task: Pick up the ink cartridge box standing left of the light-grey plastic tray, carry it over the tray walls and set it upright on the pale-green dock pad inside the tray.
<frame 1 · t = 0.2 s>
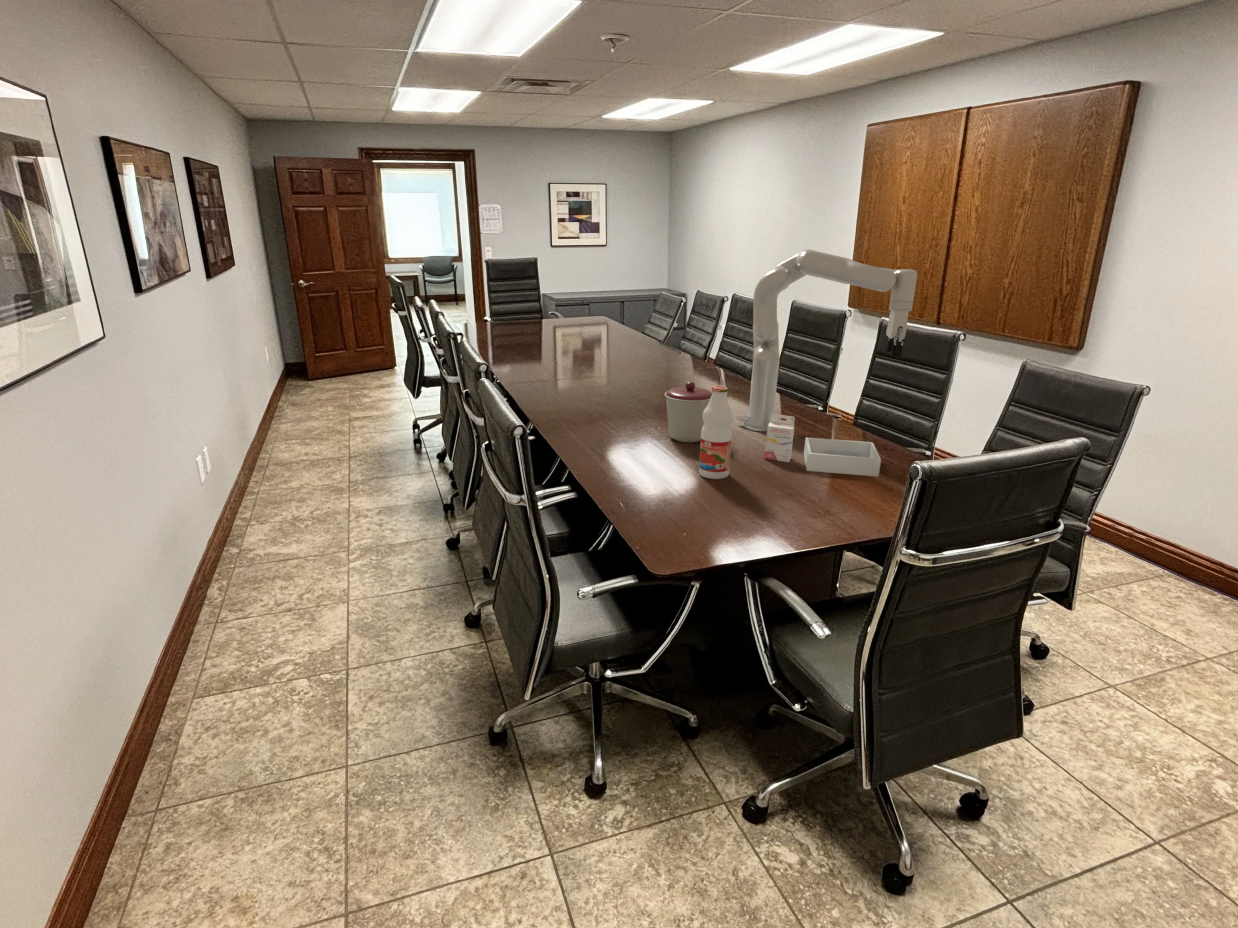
hand: (893, 354, 249), 31 cm above the table, tool pointing down, fingers open, 9 cm apart
fruit juice: (713, 475, 217), on the table
canister: (687, 439, 252), on the table
ink cartridge box: (777, 459, 233), on the table
tray: (839, 464, 228), on the table
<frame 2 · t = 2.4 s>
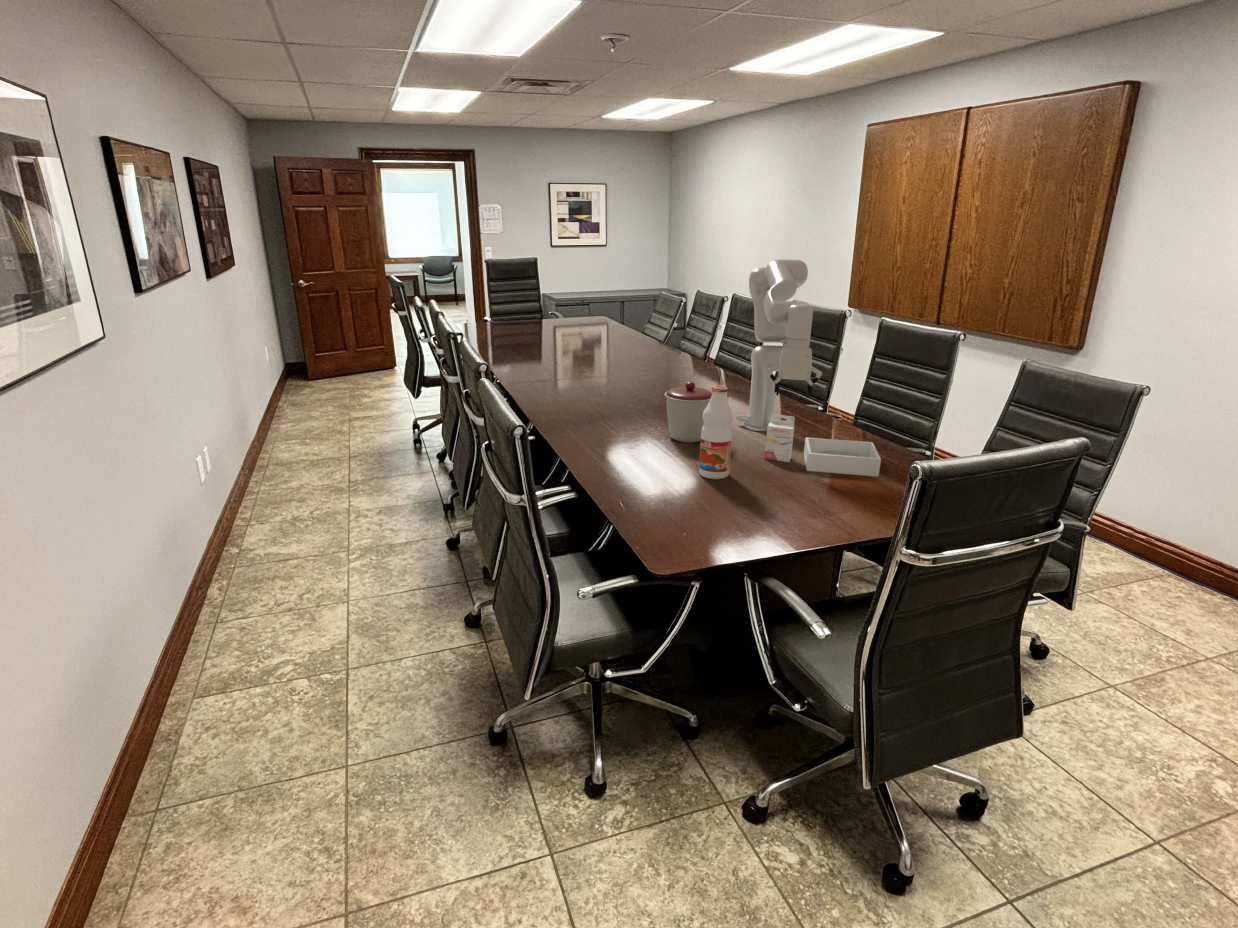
hand: (792, 395, 227), 21 cm above the table, tool pointing down, fingers open, 9 cm apart
nothing on the table moved.
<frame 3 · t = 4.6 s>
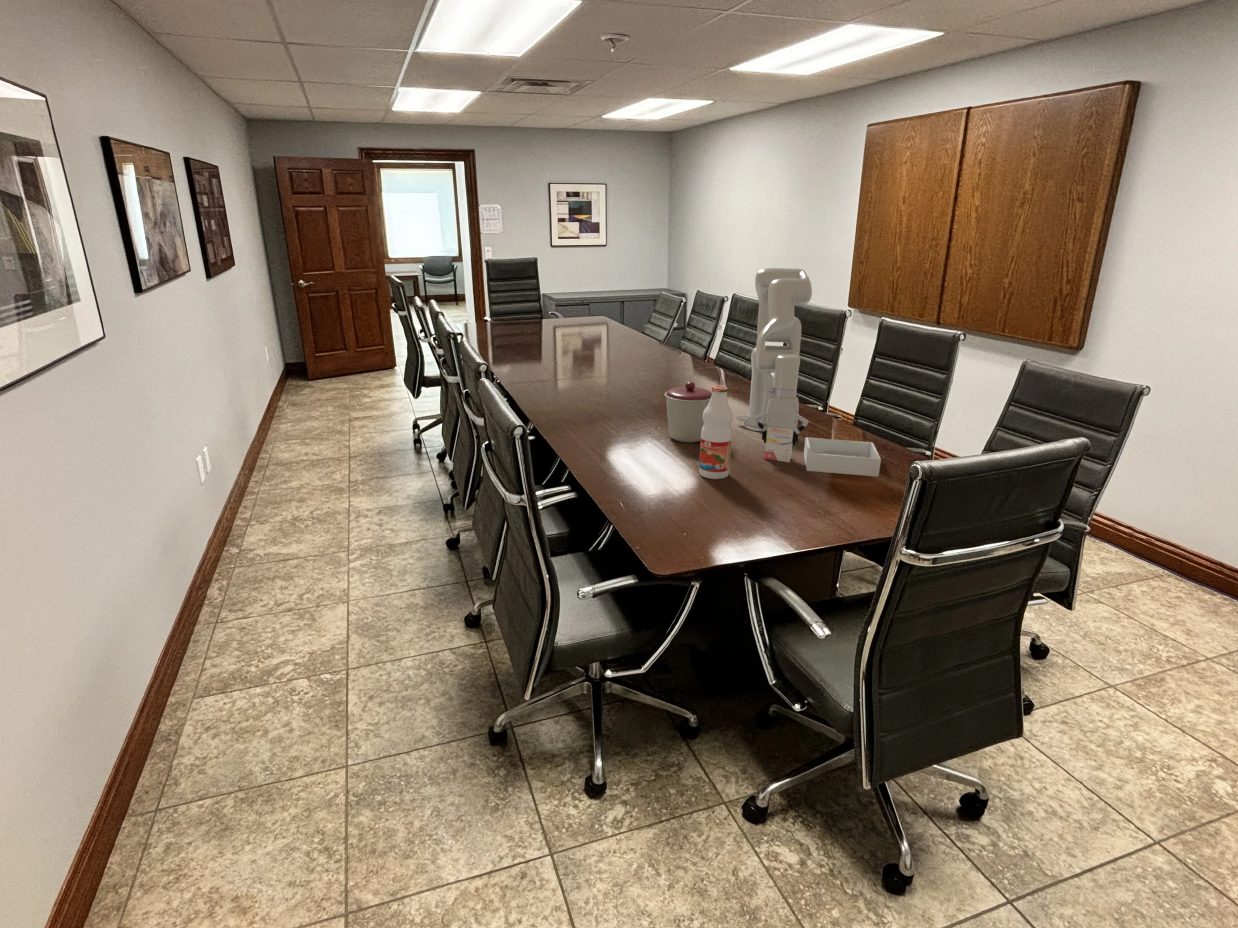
hand: (779, 443, 231), 6 cm above the table, tool pointing down, fingers closed on ink cartridge box, 9 cm apart
ink cartridge box: (777, 459, 233), on the table, touching gripper
everything else where it was.
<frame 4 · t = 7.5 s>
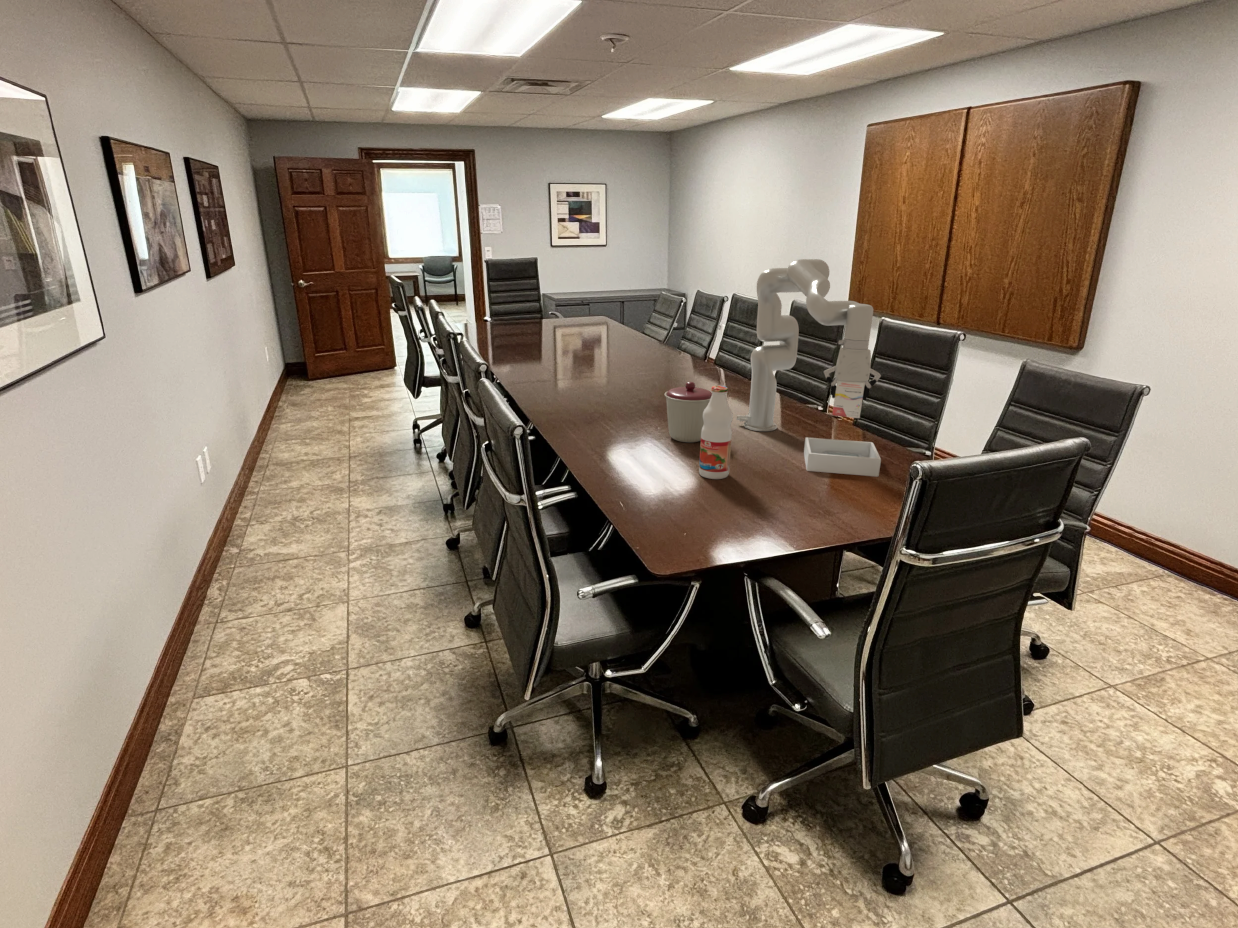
hand: (848, 398, 221), 22 cm above the table, tool pointing down, fingers closed on ink cartridge box, 9 cm apart
ink cartridge box: (846, 415, 223), point 17 cm above the table, touching gripper
everything else where it was.
when the fingers open (7 cm above the table, at t = 10.4 s): ink cartridge box stays where it is, resting on tray.
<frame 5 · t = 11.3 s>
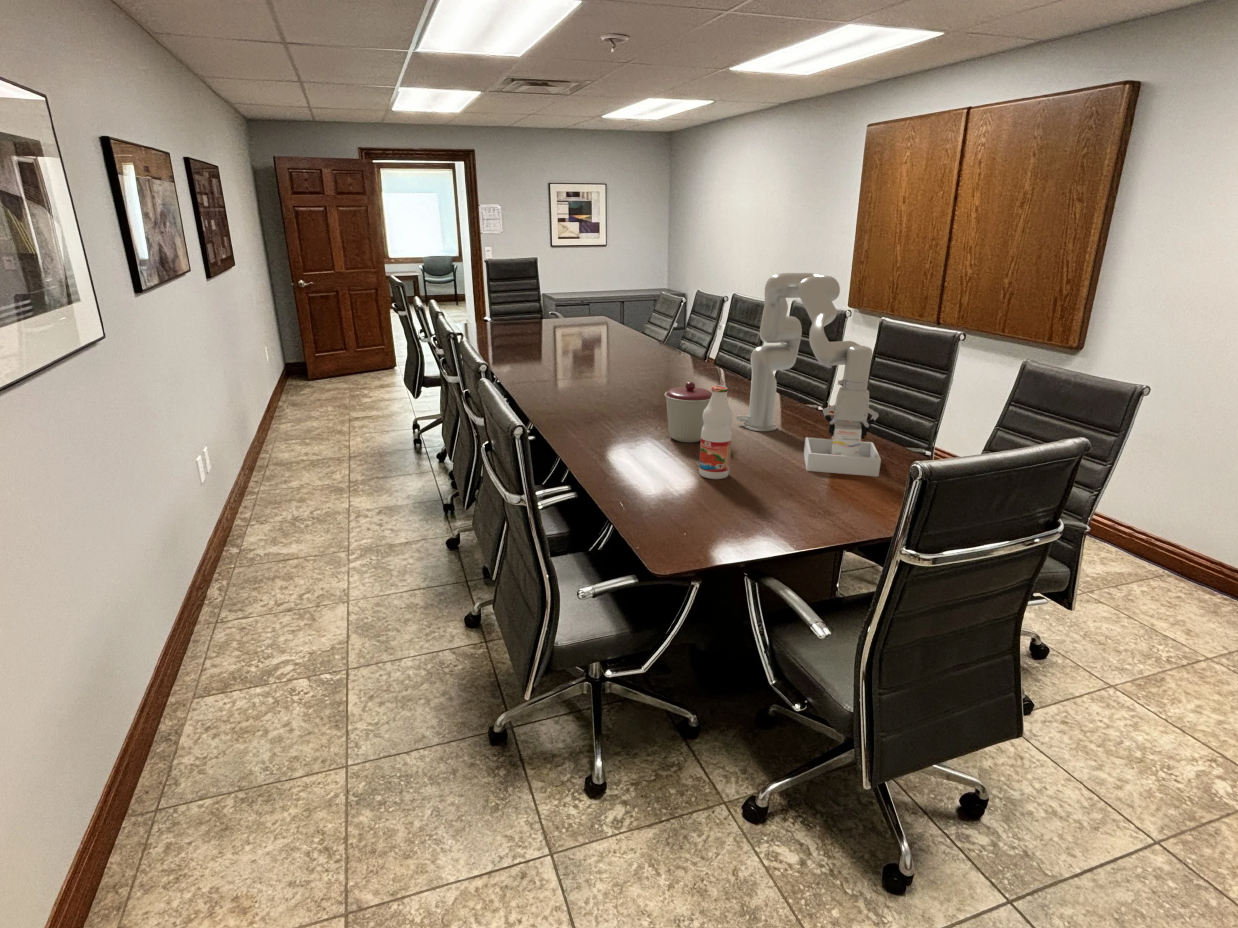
hand: (846, 436, 225), 10 cm above the table, tool pointing down, fingers open, 9 cm apart
ink cartridge box: (844, 461, 228), point 1 cm above the table, touching tray
everything else where it was.
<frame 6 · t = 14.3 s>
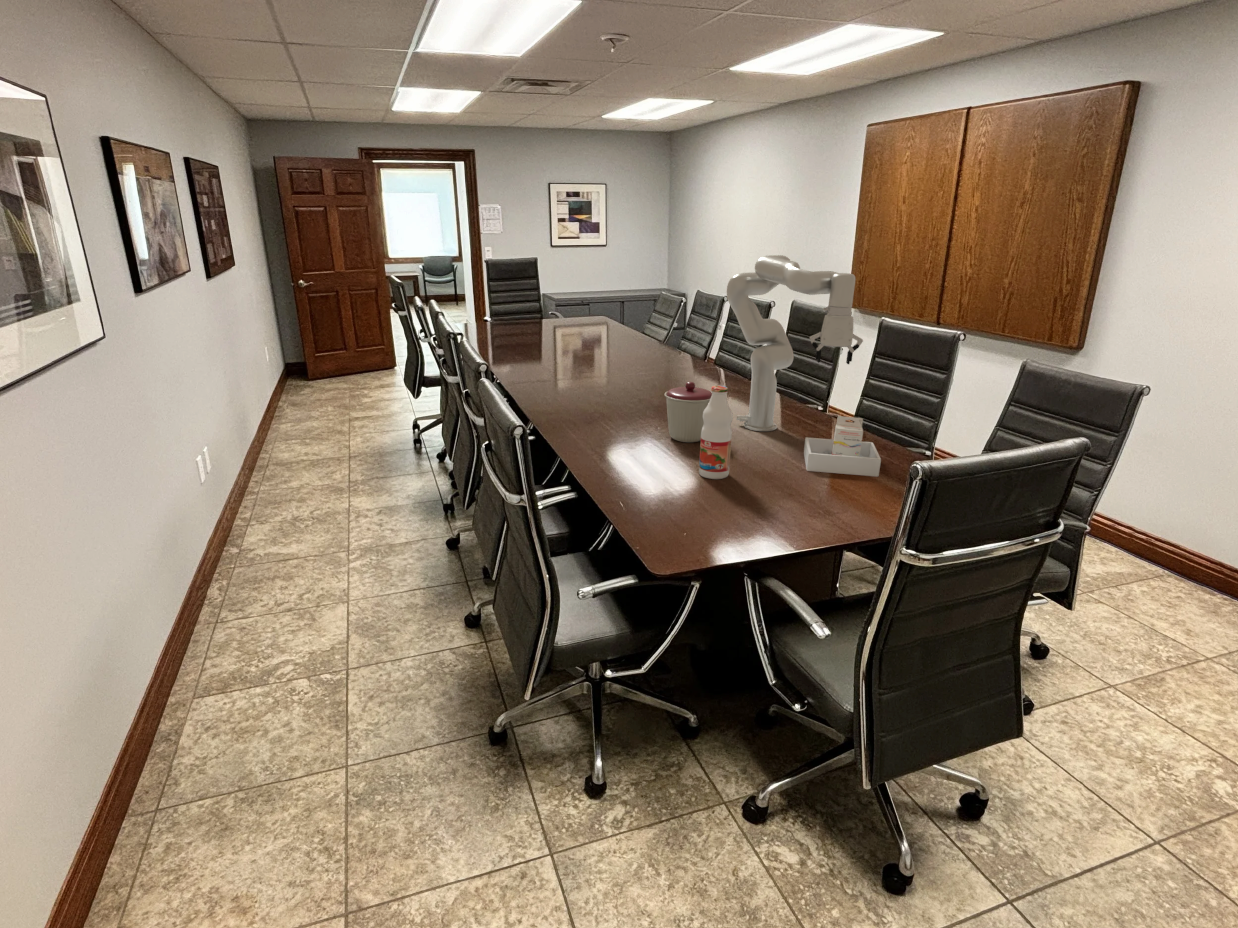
hand: (833, 362, 235), 30 cm above the table, tool pointing down, fingers open, 9 cm apart
nothing on the table moved.
at the end: ink cartridge box inside the target area on the tray (0.5 cm from its centre), point 0.8 cm above the tray's base; ink cartridge box tilted 0°; the gripper is holding nothing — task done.
